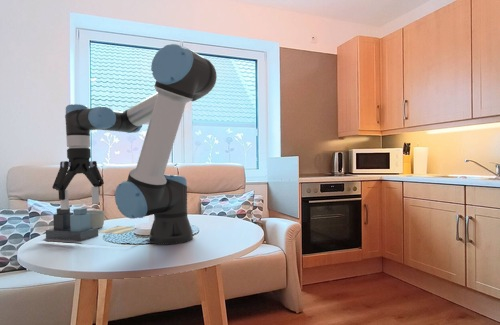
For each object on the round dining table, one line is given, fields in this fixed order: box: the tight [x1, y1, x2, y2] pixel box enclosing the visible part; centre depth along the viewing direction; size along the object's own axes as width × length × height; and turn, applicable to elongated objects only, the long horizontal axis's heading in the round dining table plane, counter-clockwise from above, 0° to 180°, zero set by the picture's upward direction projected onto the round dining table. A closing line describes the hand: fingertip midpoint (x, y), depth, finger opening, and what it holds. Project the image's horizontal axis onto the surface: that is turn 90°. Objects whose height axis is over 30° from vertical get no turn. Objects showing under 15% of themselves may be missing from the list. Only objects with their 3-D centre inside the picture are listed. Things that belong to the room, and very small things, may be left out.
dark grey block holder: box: [45, 207, 99, 245], centre depth 114 cm, size 16×8×12 cm, turn 72°
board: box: [98, 225, 135, 235], centre depth 124 cm, size 12×12×1 cm
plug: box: [70, 207, 90, 232], centre depth 112 cm, size 4×4×11 cm
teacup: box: [87, 209, 106, 230], centre depth 128 cm, size 14×11×8 cm
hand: (81, 206), depth 112 cm, fingers open, 13 cm apart
